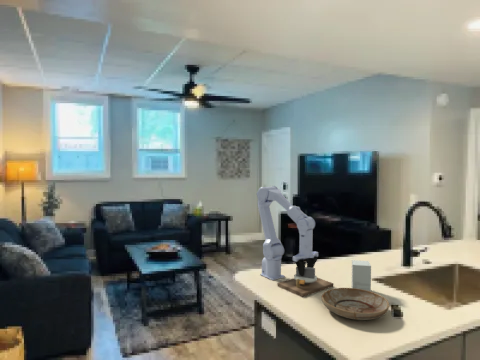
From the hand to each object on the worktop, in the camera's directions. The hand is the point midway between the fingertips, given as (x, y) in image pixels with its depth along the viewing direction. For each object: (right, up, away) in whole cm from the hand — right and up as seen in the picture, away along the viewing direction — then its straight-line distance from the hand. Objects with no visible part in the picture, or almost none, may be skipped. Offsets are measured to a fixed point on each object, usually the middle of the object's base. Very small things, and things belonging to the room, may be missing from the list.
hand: (305, 274), depth 147 cm
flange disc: (0, -2, -1) cm, 2 cm away
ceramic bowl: (+13, -7, -25) cm, 29 cm away
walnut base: (0, -5, 0) cm, 5 cm away
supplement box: (+23, -6, -5) cm, 24 cm away
